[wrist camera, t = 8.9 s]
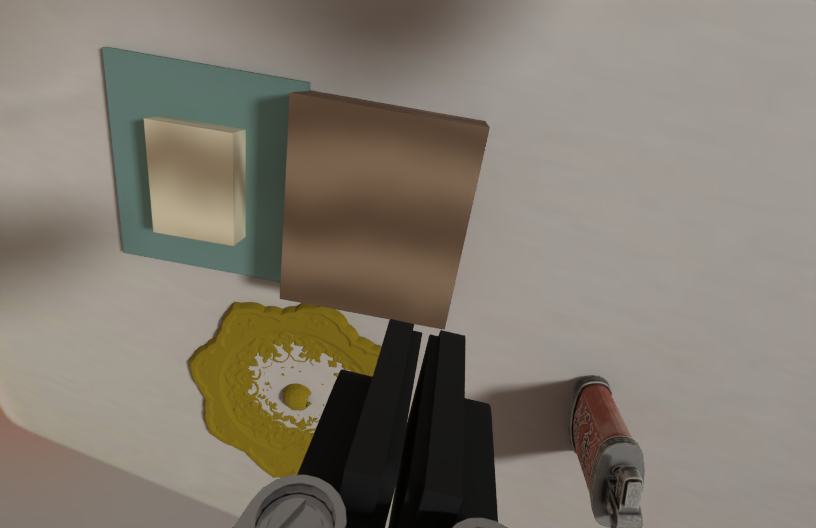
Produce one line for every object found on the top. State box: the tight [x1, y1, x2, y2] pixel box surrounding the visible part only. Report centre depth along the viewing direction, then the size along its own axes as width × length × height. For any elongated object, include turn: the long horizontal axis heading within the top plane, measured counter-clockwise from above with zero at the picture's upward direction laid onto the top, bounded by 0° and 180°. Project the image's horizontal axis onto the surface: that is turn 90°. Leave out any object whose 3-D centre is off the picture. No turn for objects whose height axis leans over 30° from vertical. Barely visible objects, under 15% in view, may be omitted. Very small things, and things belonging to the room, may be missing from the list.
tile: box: [144, 116, 246, 246], centre depth 32 cm, size 8×6×2 cm
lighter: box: [568, 375, 645, 528], centre depth 34 cm, size 8×3×10 cm, turn 4°
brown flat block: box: [280, 90, 489, 330], centre depth 31 cm, size 14×12×4 cm
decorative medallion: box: [189, 302, 382, 478], centre depth 40 cm, size 20×20×1 cm
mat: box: [102, 47, 310, 282], centre depth 33 cm, size 15×14×1 cm
